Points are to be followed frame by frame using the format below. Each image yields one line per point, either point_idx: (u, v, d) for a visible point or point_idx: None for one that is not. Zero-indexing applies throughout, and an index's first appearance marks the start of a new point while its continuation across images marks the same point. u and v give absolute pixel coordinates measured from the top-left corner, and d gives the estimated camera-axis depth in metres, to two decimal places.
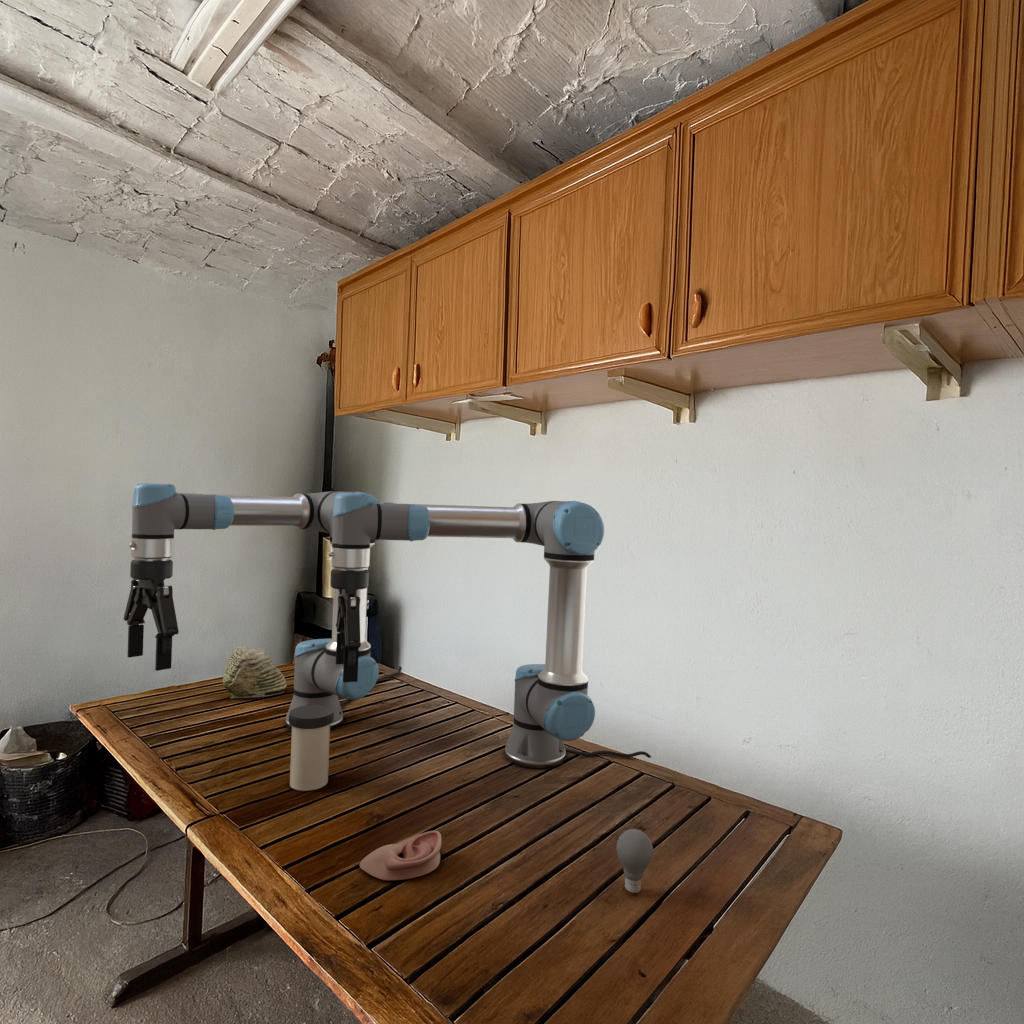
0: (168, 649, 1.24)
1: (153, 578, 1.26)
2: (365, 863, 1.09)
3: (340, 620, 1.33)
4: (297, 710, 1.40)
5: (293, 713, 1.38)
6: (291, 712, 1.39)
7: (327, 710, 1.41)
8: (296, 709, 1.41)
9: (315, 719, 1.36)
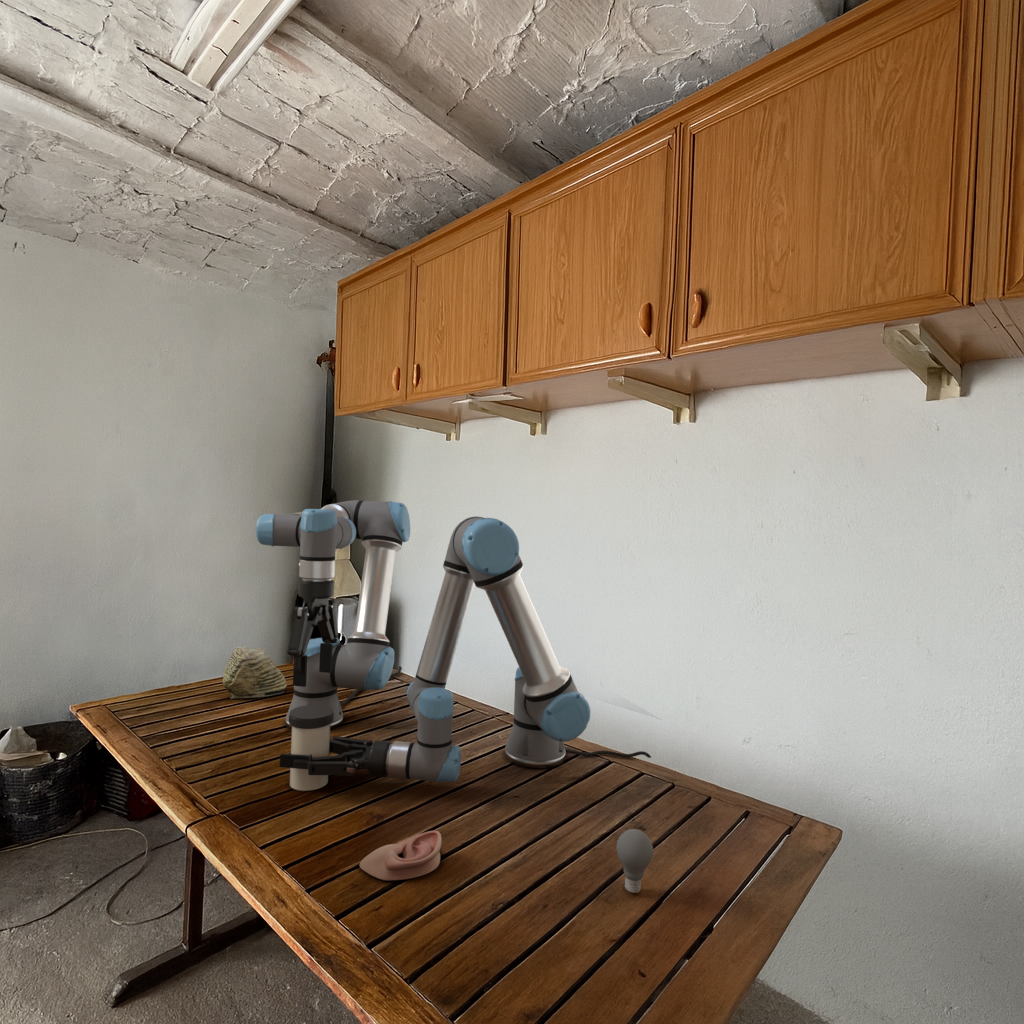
0: (297, 668, 1.33)
1: (303, 596, 1.36)
2: (365, 863, 1.09)
3: None
4: (297, 710, 1.40)
5: (293, 713, 1.38)
6: (291, 712, 1.39)
7: (327, 710, 1.41)
8: (296, 709, 1.41)
9: (315, 719, 1.36)
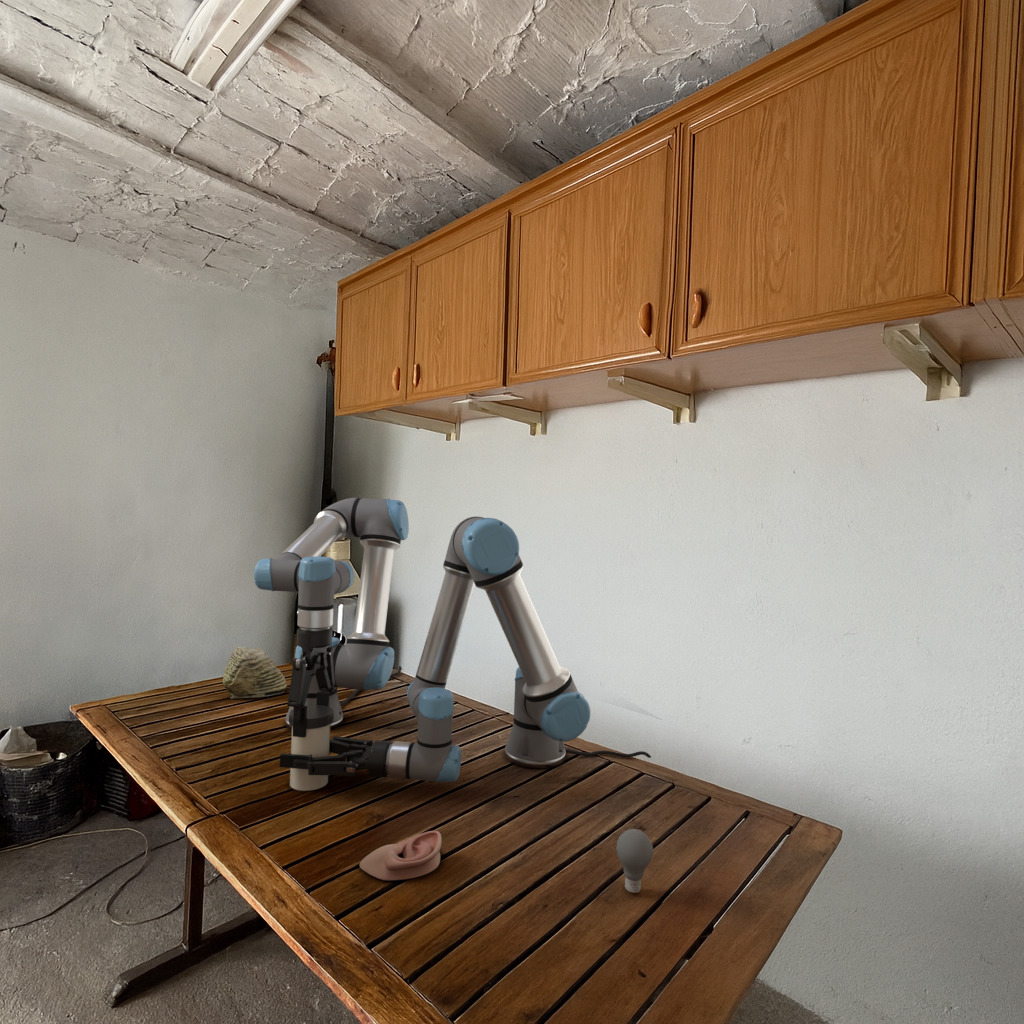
0: (297, 719, 1.34)
1: (301, 646, 1.36)
2: (365, 863, 1.09)
3: None
4: None
5: None
6: (291, 712, 1.39)
7: (327, 710, 1.41)
8: None
9: (315, 719, 1.36)
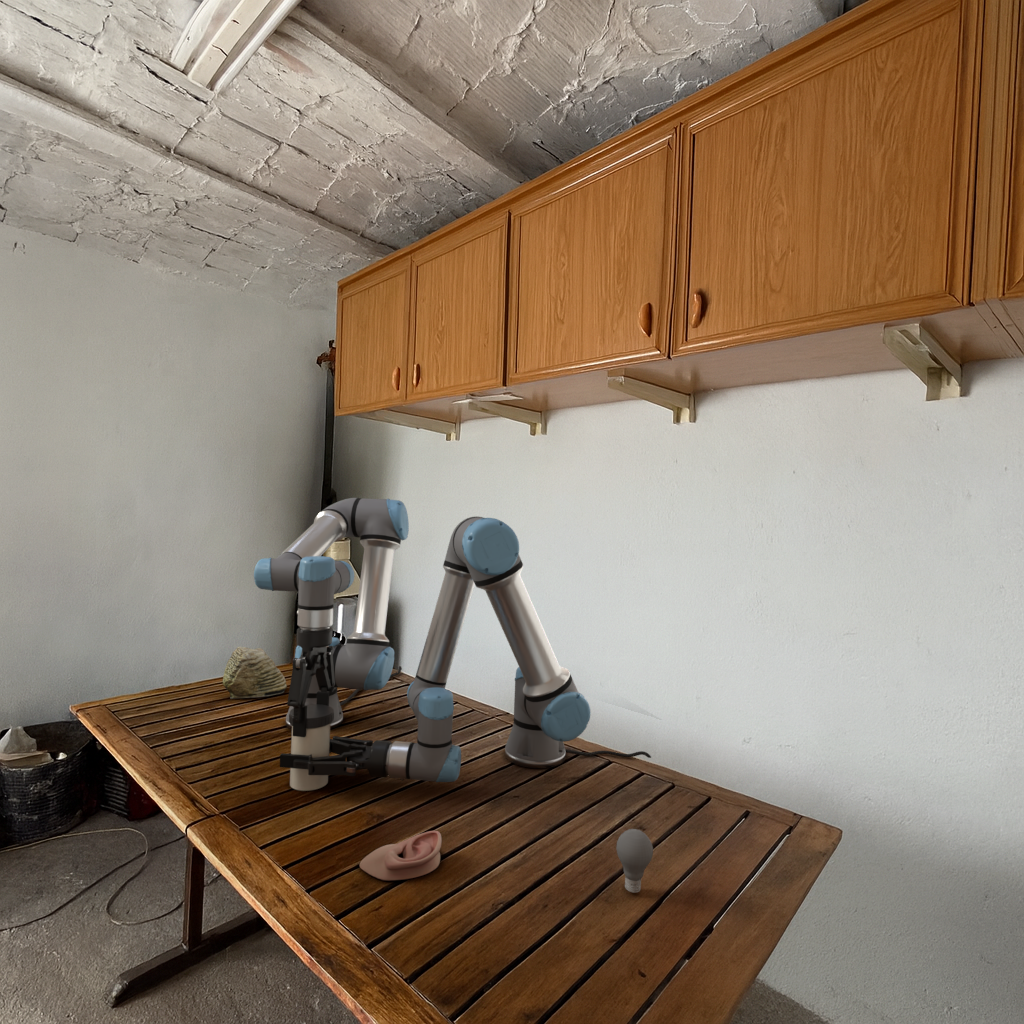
0: (297, 719, 1.34)
1: (301, 646, 1.36)
2: (365, 863, 1.09)
3: None
4: None
5: (315, 716, 1.37)
6: (312, 717, 1.36)
7: (310, 706, 1.43)
8: None
9: None
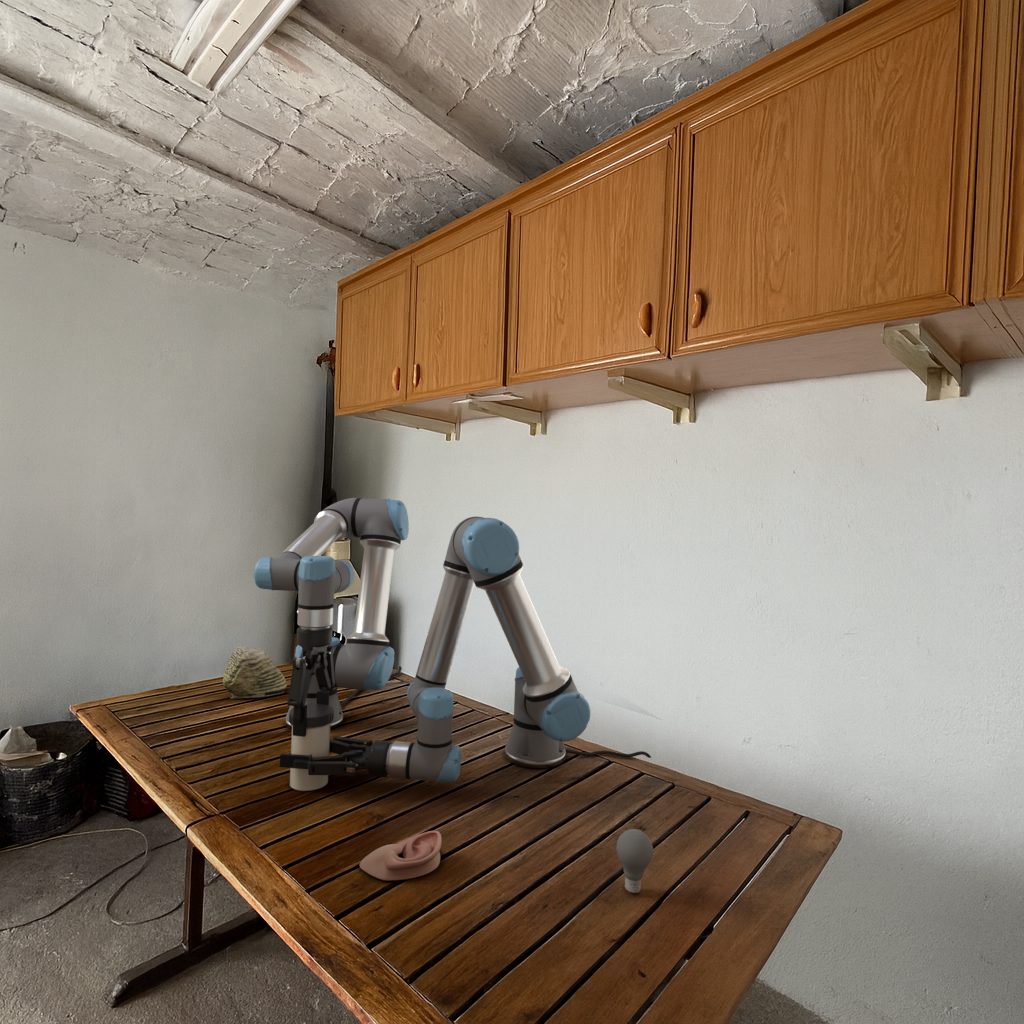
0: (297, 718, 1.34)
1: (301, 645, 1.36)
2: (365, 863, 1.09)
3: None
4: (326, 711, 1.40)
5: (329, 708, 1.42)
6: (331, 709, 1.41)
7: None
8: (327, 712, 1.39)
9: None
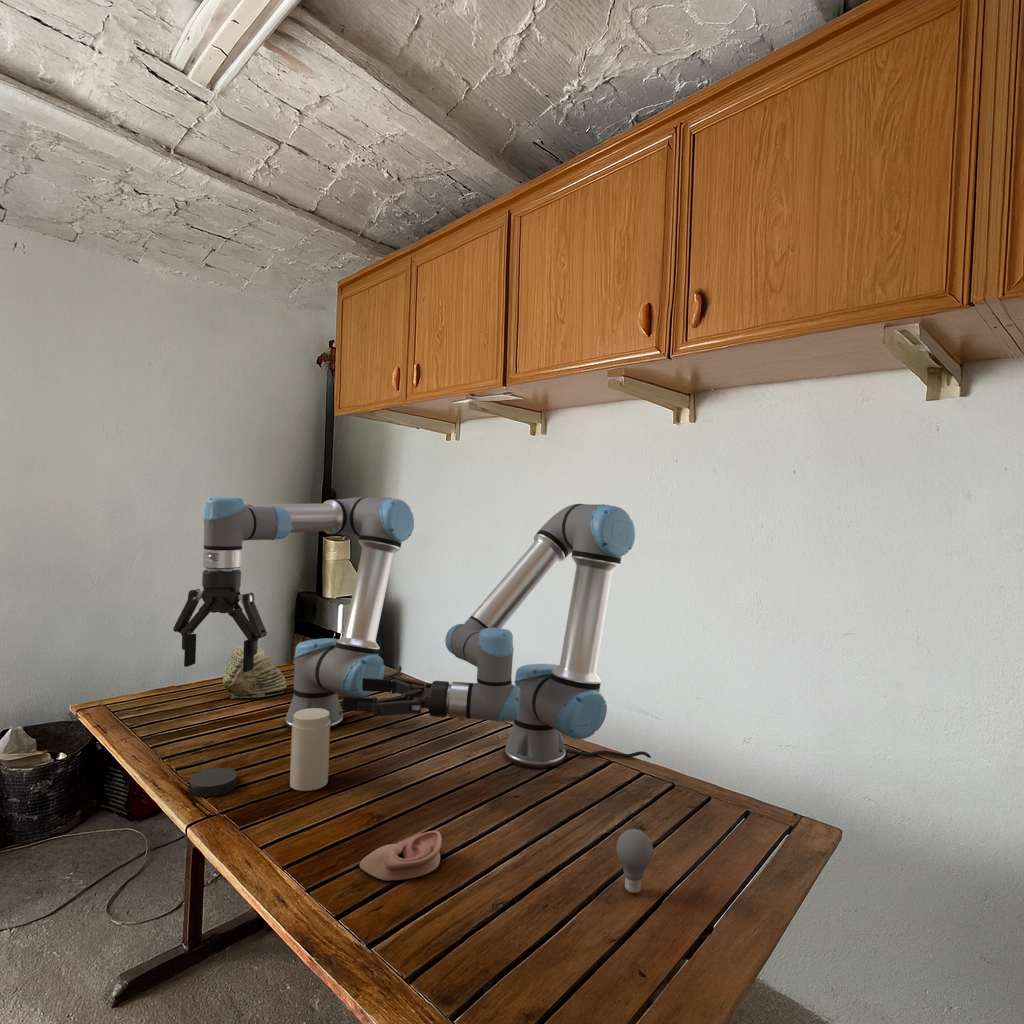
0: (255, 651, 1.35)
1: (234, 587, 1.34)
2: (365, 863, 1.09)
3: None
4: (198, 776, 1.36)
5: (194, 780, 1.34)
6: (191, 779, 1.34)
7: (230, 774, 1.38)
8: (196, 775, 1.36)
9: (219, 786, 1.32)
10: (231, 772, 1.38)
